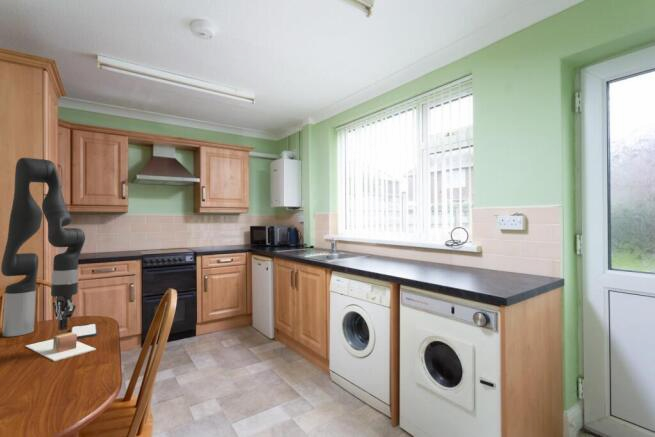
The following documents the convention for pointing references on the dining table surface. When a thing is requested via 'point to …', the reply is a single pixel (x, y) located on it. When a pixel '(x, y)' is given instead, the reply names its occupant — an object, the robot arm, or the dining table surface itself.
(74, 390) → the dining table surface
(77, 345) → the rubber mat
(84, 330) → the phone case
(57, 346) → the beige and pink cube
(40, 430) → the dining table surface
